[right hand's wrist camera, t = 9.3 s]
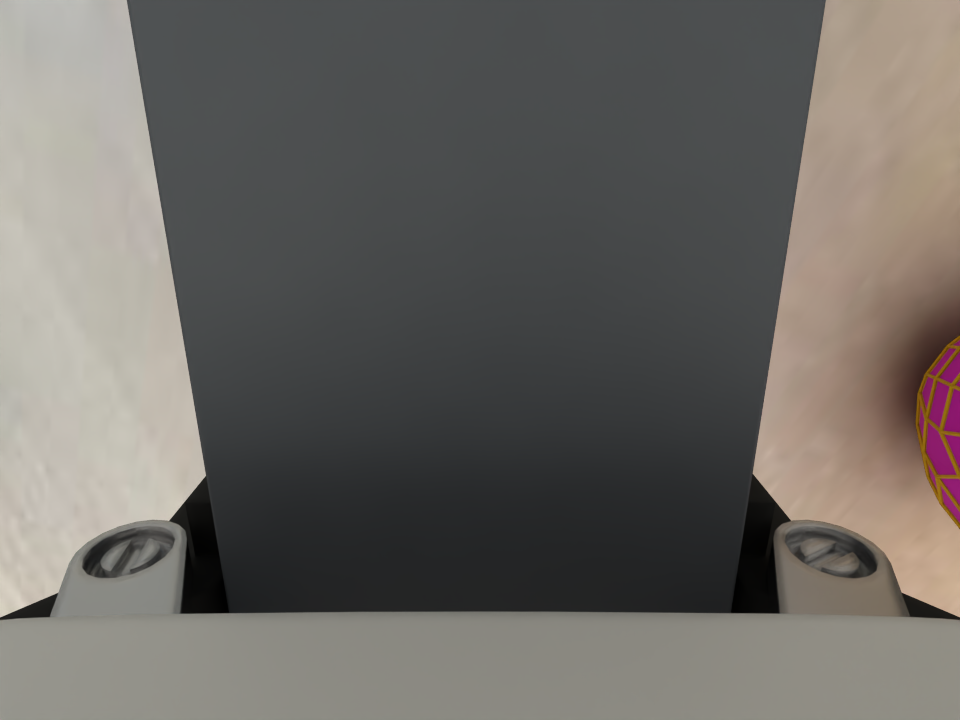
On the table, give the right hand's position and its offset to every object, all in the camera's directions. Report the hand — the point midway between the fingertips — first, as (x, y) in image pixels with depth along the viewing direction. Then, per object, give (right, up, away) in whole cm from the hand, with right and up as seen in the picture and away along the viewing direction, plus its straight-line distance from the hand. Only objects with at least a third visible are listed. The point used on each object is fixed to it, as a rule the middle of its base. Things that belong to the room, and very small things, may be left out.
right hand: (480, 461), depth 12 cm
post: (0, +30, -8) cm, 31 cm away
